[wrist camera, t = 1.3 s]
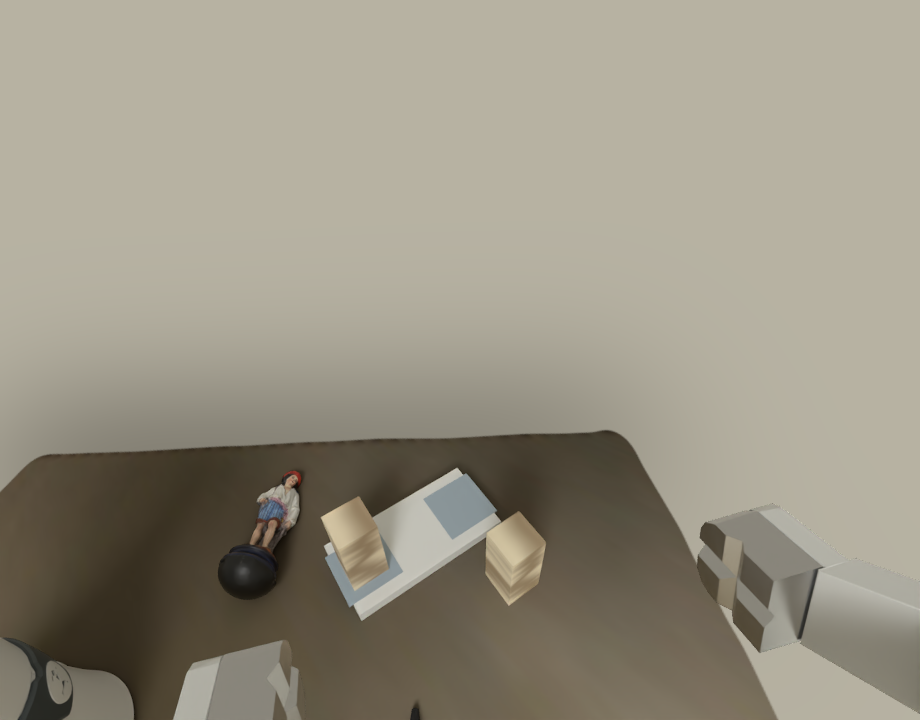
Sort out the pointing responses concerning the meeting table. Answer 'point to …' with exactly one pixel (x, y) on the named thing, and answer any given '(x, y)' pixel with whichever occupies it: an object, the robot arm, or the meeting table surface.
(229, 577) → the figurine
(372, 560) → the standing pillar
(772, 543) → the robot arm
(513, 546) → the loose pillar
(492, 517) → the white base board
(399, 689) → the meeting table surface
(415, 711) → the microphone
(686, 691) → the meeting table surface
